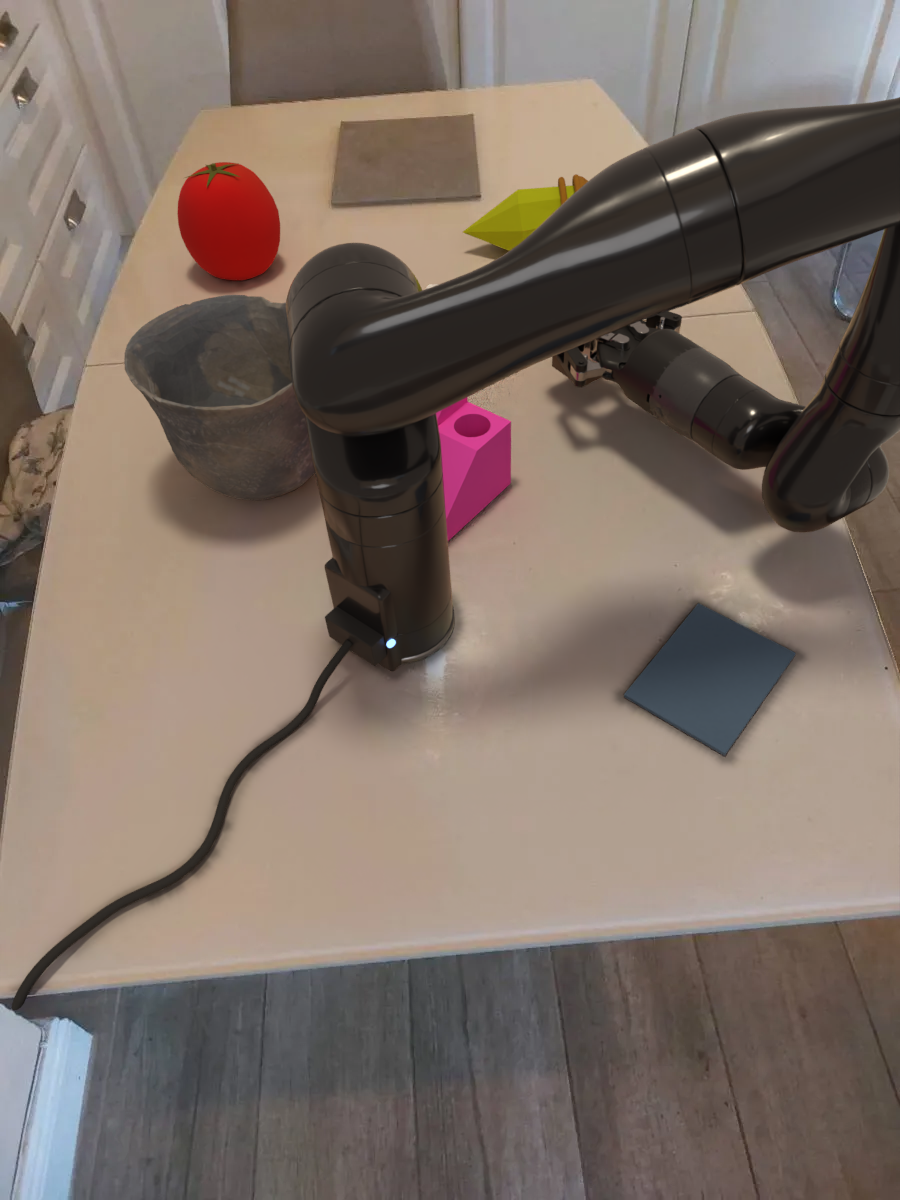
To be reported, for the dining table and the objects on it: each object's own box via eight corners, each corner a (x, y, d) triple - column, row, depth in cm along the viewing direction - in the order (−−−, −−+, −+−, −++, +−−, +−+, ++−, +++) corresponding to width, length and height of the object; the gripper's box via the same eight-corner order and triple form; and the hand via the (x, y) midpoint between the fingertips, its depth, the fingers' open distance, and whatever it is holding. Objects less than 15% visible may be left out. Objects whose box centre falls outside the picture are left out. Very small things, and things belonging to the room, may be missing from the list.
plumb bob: (466, 278, 116) (665, 247, 113) (454, 204, 111) (662, 169, 108) (468, 257, 124) (655, 227, 120) (457, 187, 118) (652, 153, 115)
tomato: (182, 294, 116) (149, 184, 105) (204, 249, 123) (176, 141, 113) (278, 294, 115) (255, 183, 104) (295, 248, 122) (275, 140, 112)
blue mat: (724, 756, 69) (725, 753, 69) (623, 696, 73) (623, 694, 73) (795, 655, 75) (796, 652, 75) (697, 605, 79) (698, 602, 79)
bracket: (431, 444, 95) (424, 360, 87) (510, 483, 90) (511, 398, 82) (353, 508, 89) (338, 425, 81) (434, 554, 84) (426, 470, 77)
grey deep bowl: (154, 537, 88) (100, 413, 76) (184, 422, 99) (142, 298, 88) (337, 528, 87) (311, 401, 76) (347, 413, 99) (326, 288, 87)
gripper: (745, 323, 84) (621, 252, 94) (630, 381, 80) (511, 300, 89) (730, 390, 90) (615, 316, 100) (622, 448, 85) (511, 364, 95)
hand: (566, 309), depth 94 cm, fingers closed on walnut block, 4 cm apart
